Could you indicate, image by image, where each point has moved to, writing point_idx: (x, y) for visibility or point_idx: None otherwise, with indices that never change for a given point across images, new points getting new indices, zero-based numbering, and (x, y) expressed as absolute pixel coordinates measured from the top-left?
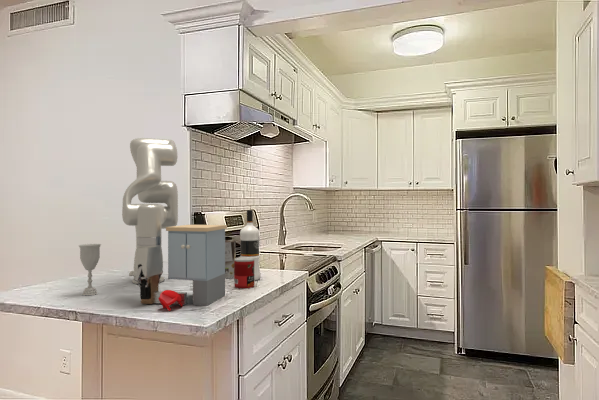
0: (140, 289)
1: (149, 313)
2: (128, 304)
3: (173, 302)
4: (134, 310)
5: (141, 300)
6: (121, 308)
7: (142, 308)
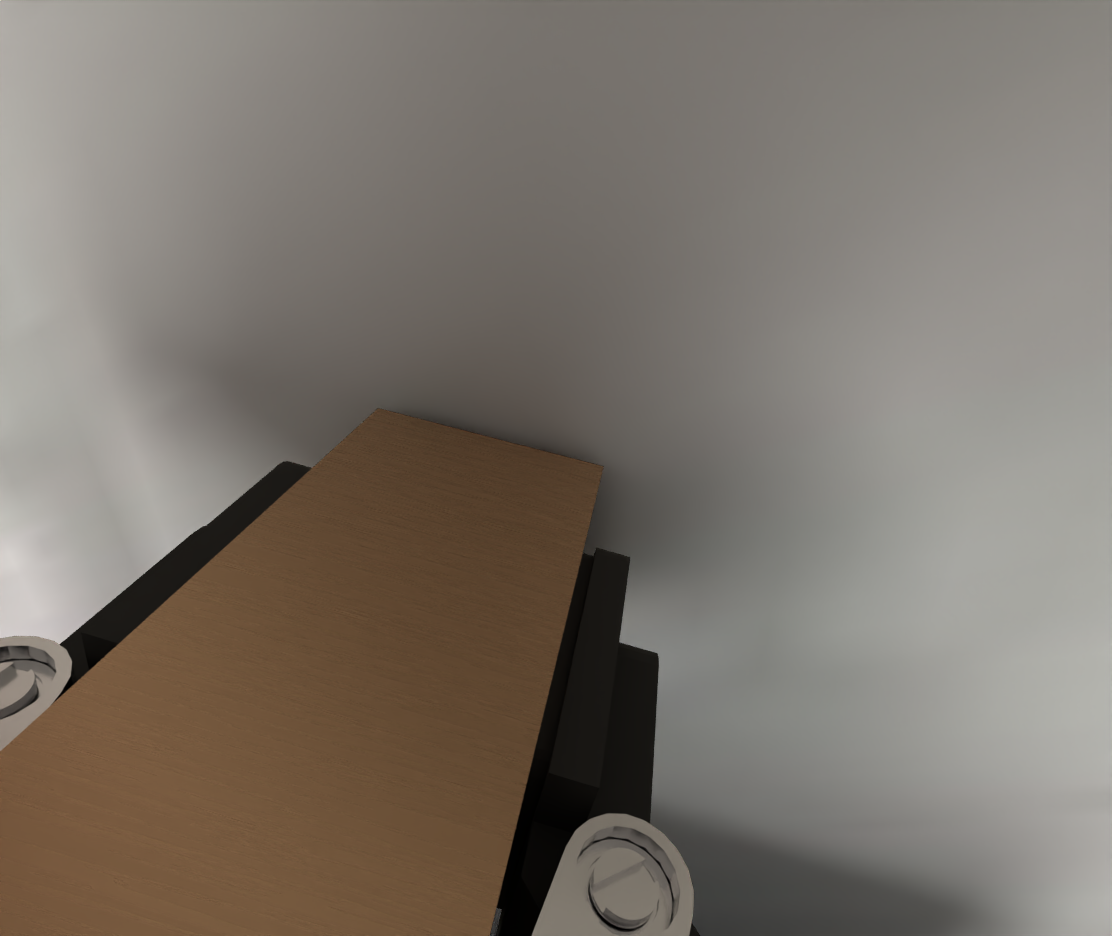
0: (144, 580)
1: (39, 632)
2: (353, 137)
3: None
4: (62, 424)
5: (353, 442)
6: (66, 138)
7: (186, 499)
